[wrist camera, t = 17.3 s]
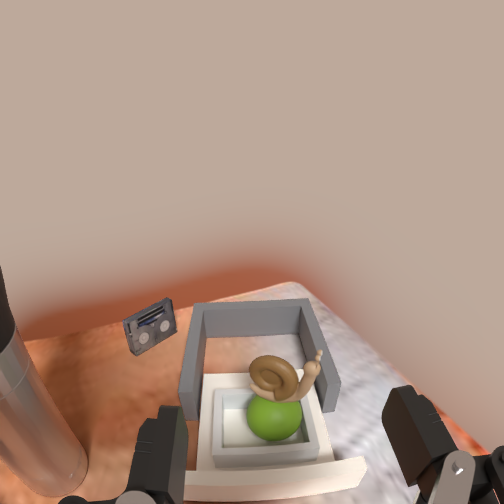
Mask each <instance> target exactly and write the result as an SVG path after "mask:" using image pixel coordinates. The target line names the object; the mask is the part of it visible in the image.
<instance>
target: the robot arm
mask: <svg viewBox="0 0 504 504" xmlns="http://www.w3.org/2000/svg"><path fill="white" fill-rule="evenodd" d="M382 423H383V426H384V429H385V431H386V434H387V436H388V438H389V441H390V443H391V446H392V448H393V450H394V453H395V455H396V458H397V460H398V463H399V465H400V468H401V470H402V473H403V475H404V478H405V480H406V483H407V485H408V487H410V486H413V485H416V484H418V486H419V489H418V491H417V493H416V496H415V499H414V502H413V504H499V502H500V504H504V446H500V447H498V448H496V449H495V450H494V452H493V453H492V454H489V455H482V456H471V455H470V454H469V453H468V452H466V451H461V450H459V449H458V448H457V447H456V445H455V443H454V441H453V439H452V437H451V436H450V434H449V432H448V430H447V428H446V427H445V425H444V423H443V421H441V418H440V416H439V414H437V411H436V409H435V407H434V406H433V404H432V402H431V401H430V400H428V399H427V398H426V397H425V396H423V395H417V393H416V391H415V390H414V388H413V387H412V386H411V385H406V386H402V387H397V388H393V389H392V390H391V392H390V394H389V397H388V399H387V402H386V404H385V406H384V409H383V411H382ZM187 451H188V429H187V425H186V422H185V418H184V415H183V411H182V408H181V406H164V405H161V406H160V408H159V412H158V417H157V419H151V418H147V419H146V421H145V422H144V423H143V425H142V426H141V427H140V429H139V433H138V437H137V443H136V446H135V452H134V455H133V460H132V465H131V470H130V474H129V479H128V484H127V487H126V489H125V491H124V492H123V493H122V494H121V495H120V496H119V497H117V498H115V499H112V500H105V501H93V502H87V501H86V500H85V499H83V498H82V497H79V496H67V497H65V498H63V499H62V500H61V501H60V502H59V503H58V504H183V499H184V486H185V474H186V462H187ZM0 459H1V460H2V461H3V462H4V463H5V464H6V465H7V466H8V467H9V469H10V470H11V471H12V472H13V473H14V474H15V475H16V476H17V477H18V478H19V479H20V480H21V481H23V482H24V483H25V484H26V485H27V486H28V487H29V488H30V489H31V490H33V491H34V492H36V493H38V494H40V495H43V496H48V497H58V496H62V495H66V494H68V493H70V492H72V491H73V490H75V489H76V488H77V487H78V486H79V485H80V484H81V482H82V481H83V479H84V477H85V475H86V473H87V467H88V459H87V455H86V452H85V450H84V448H83V446H82V445H81V443H80V442H79V440H78V439H77V438H76V436H75V435H74V433H73V432H72V430H71V429H70V427H69V425H68V424H67V422H66V421H65V419H64V417H63V416H62V414H61V413H60V411H59V409H58V408H57V406H56V404H55V403H54V401H53V399H52V397H51V396H50V394H49V392H48V390H47V388H46V387H45V385H44V383H43V381H42V379H41V377H40V375H39V373H38V371H37V370H36V368H35V366H34V363H33V361H32V359H31V357H30V355H29V353H28V351H27V349H26V347H25V345H24V342H23V340H22V338H21V335H20V333H19V331H18V328H17V326H16V324H15V321H14V318H13V315H12V313H11V310H10V307H9V304H8V299H7V294H6V290H5V284H4V279H3V275H2V270H1V267H0ZM493 489H494V490H495V492H496V495H497V497H498V500H499V502H498V500H497V498H496V495H495V493H494V490H493Z"/></svg>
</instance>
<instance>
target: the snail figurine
mask: <svg viewBox="0 0 504 504" xmlns="http://www.w3.org/2000/svg"><path fill="white" fill-rule="evenodd" d="M322 355H323V351H322V350H318V351H317V355H316V356H315V360H316V361H317V362H316V361H308V362H306V363H305V365H304V367H303V371H304V374H303V376H302V378H301V380H300V382H299V379H298V375H297V373H296V371H295V369H294V368H293V367H292V365H290V364H289V363H288V362H287V361H285V360H284V359H281V358H279V357H276V356H271V355H265V356H260V357H258V358H256V359H255V360H253V361H252V363H251V364H250V367H249V374H250V377H251V379H252V381H253V382H254V383H255V384H254V383H250V384H249V386H250V388H251V389H252V390H253V391H254V392H255V393H256V394H257V395H256V396H255V397H254V398H253V399H252V400H251V402H250V404H249V406H248V408H247V413H246V419H247V423H248V426H249V428H250V429H251V431H252V432H253V433H254V434H255V435H256V436H258V437H259V438H261V439H263V440H267V441H281V440H284V439H287V438H288V437H290V436H292V435H293V434H294V433H295V432H296V431H297V429H298V428H299V426H300V424H301V421H302V409H301V406H300V403H299V402H298V401H299V400H301V399H302V398H303V397H304V396H305V395H306V394H307V393H308V392H309V390H310V389H311V387H312V385H313V383H314V381H315V378H316V376H317V375H318V374H319V372H320V370H321V366H320V364H319V361H320V360H321V356H322Z"/></svg>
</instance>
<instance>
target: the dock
mask: <svg viewBox="0 0 504 504" xmlns="http://www.w3.org/2000/svg"><path fill="white" fill-rule="evenodd" d="M297 333H299V336H300V339H301V342H302V346H303V349H304V352H305V356H306V359H307V362H308V361H316V360H315V356H316V355H317V351H318V350H322V351H323V355H322V356H321V360H320V361H319V364H320V366H321V370H320V372H319V374H318V375H317V376H316V378H315V381H314V387H315V390H316V394H317V397H318V401H319V404H320V408H321V411H322V413H327V412H334V411H335V407H336V403H337V399H338V395H339V391H340V387H341V380H340V378H339V375H338V372H337V370H336V367H335V365H334V362H333V359H332V357H331V354H330V352H329V349H328V347H327V344H326V342H325V339H324V336H323V334H322V331H321V329H320V326H319V324H318V321H317V319H316V316H315V314H314V311H313V309H312V307H311V304H310V302H309V299H308V298H304V299H287V300H268V301H245V302H216V303H194V308H193V313H192V318H191V323H190V328H189V333H188V338H187V344H186V349H185V355H184V360H183V366H182V371H181V377H180V383H179V389H178V394H179V398H180V402H181V406H182V409H183V413H184V417H185V420H199V409H200V398H201V387H202V377H203V367H204V357H205V348H206V338H213V337H245V336H266V335H283V334H297ZM316 362H317V361H316Z"/></svg>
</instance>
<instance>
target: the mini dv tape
mask: <svg viewBox="0 0 504 504" xmlns="http://www.w3.org/2000/svg"><path fill="white" fill-rule="evenodd" d="M123 327H124V331H125V334H126V338H127V341H128V345H129V348H130V352H131V353H133V354H134V355H135V356H138V355H140V354H142V353H143V352H145V351H147V350H148V349H150V348H152V347H153V346H155V345H156V344H158V343H160V342H161V341H163V340H165V339H166V338H168V337H170V336H171V335H173V334H174V333H176V332H177V328H176V322H175V316H174V310H173V304H172V300H171V299H169V298H165V299H162V300H161V301H159V302H157V303H155V304H153V305H151V306H149V307H147V308H145V309H143V310H142V311H140V312H138V313H136V314H134V315H132V316H130V317H128V318H126V319H124V320H123Z"/></svg>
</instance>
